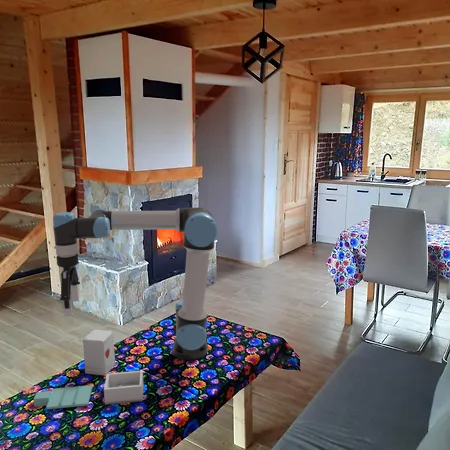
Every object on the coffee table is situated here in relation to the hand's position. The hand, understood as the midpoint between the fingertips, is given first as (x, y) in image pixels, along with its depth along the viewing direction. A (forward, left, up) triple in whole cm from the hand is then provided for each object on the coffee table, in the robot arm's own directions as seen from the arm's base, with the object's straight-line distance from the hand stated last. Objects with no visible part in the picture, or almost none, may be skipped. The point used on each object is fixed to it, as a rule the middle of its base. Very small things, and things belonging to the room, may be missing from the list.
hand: (72, 308), depth 160 cm
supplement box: (-8, -4, -29) cm, 30 cm away
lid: (+3, +15, -29) cm, 33 cm away
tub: (-19, +15, -29) cm, 38 cm away
